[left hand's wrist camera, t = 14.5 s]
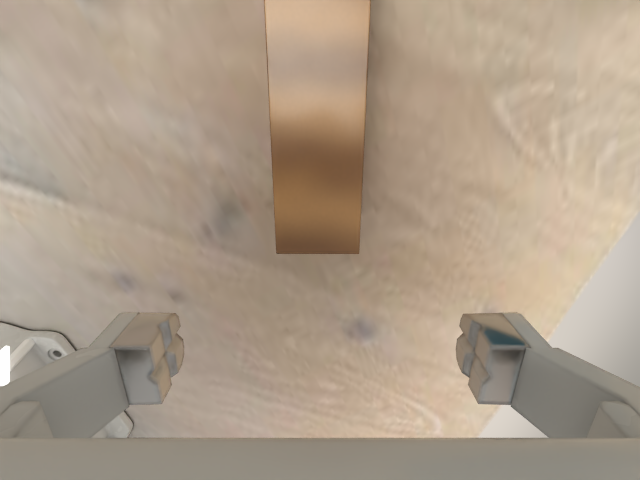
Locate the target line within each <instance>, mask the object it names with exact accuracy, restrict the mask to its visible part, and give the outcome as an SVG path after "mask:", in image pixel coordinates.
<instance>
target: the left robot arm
mask: <svg viewBox="0 0 640 480" xmlns="http://www.w3.org/2000/svg"><path fill="white" fill-rule="evenodd" d="M179 328H180V321H179V316H178V315H177V314H176V313H139V312H128V313H121V314H119V315H118V316H117V317H116V318H115V319H114V320H113V321H112V322H111V323H110V325H109V326H108V327H107V328H106V329H105V330H104V331H103V332H102V333H101V334H100V335H99V336H98V337H97V338H96V340H95V341H94V342H93V343H92V344H91V345H90V346H89V347H88V348H81V349H79V350H77V351H75V349H74V348H73V347H72V346H71V344H70V343H69V342H68V341H67V339H66V338H65V337H64V336H63V335H61V334H59V333H57V332H52V331H30V330H26V329H22V328H19V327H16V326H13V325H9V324H5V323H1V322H0V480H640V387H638V386H636V385H634V384H632V383H630V382H628V381H626V380H624V379H622V378H620V377H617V376H615V375H613V374H611V373H609V372H607V371H605V370H603V369H601V368H599V367H597V366H595V365H593V364H590V363H588V362H586V361H584V360H582V359H580V358H578V357H576V356H574V355H572V354H570V353H568V352H565V351H563V350H561V349H559V348H552V347H551V346H550V345H549V344H548V343H547V342H546V341H545V340H544V338H543V337H542V336H541V335H540V334H539V333H538V332H537V331H536V330H535V329H534V328H533V327H532V326H531V324H530V323H529V322H528V321H527V320H526V319H525V318H524V317H523V316H522V315H521V314H519V313H517V312H508V313H478V314H463V315H462V317H461V320H460V328H461V330H462V331H463V334H462V335H461V336H460V337H459V338H458V339H457V344H456V357H457V362H458V365H459V368H460V370H461V372H462V373H463V374H465V375H466V376H468V377H469V383H468V385H469V387H470V389H471V391H472V393H473V395H474V397H475V399H476V401H477V403H478V404H498V405H511V407H512V408H513V409H515V410H516V411H517V412H518V413H519V414H521V415H522V416H523V417H524V418H526V419H527V420H528V421H529V422H530V423H532V424H533V425H534V426H535V427H537V428H538V429H539V430H540V431H541V432H543V433H544V434H545V435H546V436H548V437H549V438H127V437H128V436H129V434H130V433H131V430H132V427H133V423H132V421H131V420H130V418H129V417H128V416H127V415H126V413H125V412H124V410H126V409H127V408H128V407H129V405H141V404H162V403H163V401H164V399H165V397H166V395H167V393H168V391H169V389H170V387H171V385H172V383H171V377H172V376H174V375H175V374H177V373H178V372H179V370H180V367H181V365H182V361H183V357H184V343H183V339H182V338H181V337H180V336H179V335H178V334H177V331H178V330H179Z"/></svg>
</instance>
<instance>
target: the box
mask: <svg viewBox="0 0 640 480" xmlns="http://www.w3.org/2000/svg"><path fill="white" fill-rule="evenodd" d="M370 7H371V0H264V8H265V28H266V49H267V70H268V91H269V111H270V132H271V153H272V173H273V194H274V215H275V235H276V253H277V254H359V244H360V223H361V201H362V180H363V158H364V136H365V115H366V93H367V72H368V50H369V28H370Z"/></svg>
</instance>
